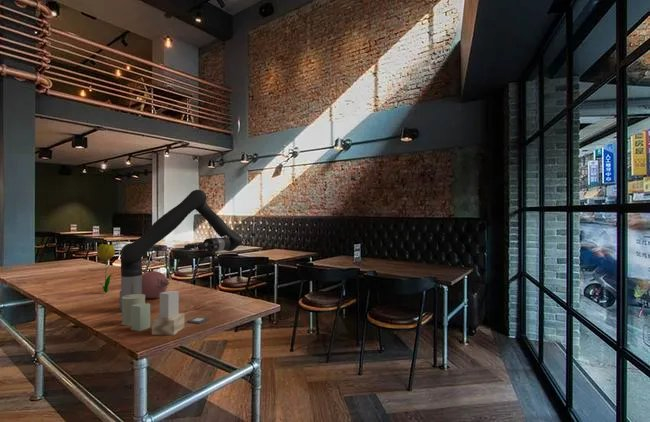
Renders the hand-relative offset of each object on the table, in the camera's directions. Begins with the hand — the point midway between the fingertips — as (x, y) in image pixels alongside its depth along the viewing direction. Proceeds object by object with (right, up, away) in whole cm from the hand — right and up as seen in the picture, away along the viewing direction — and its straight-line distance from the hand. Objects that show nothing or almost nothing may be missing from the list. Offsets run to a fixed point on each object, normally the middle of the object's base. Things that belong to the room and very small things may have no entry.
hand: (191, 247), depth 159 cm
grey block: (0, -26, -22) cm, 34 cm away
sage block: (-14, -32, -20) cm, 40 cm away
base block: (-1, -32, -22) cm, 39 cm away
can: (-21, -32, -12) cm, 40 cm away
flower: (-69, -33, +42) cm, 87 cm away
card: (+7, -32, -10) cm, 34 cm away
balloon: (-33, -32, +30) cm, 55 cm away
